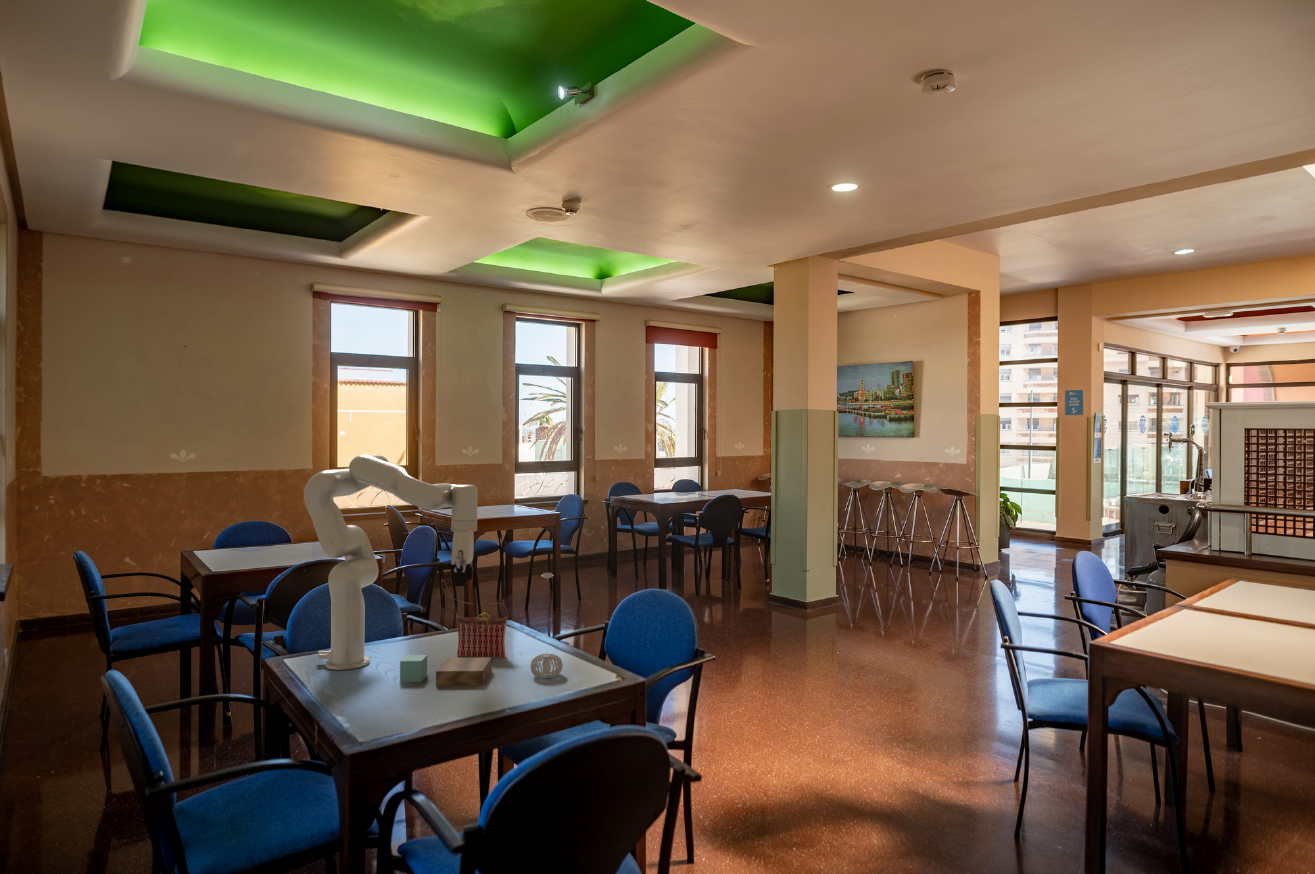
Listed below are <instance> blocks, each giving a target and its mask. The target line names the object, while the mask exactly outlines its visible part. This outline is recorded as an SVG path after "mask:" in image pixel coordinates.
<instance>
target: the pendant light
mask: <svg viewBox="0 0 1315 874" xmlns="http://www.w3.org/2000/svg"><path fill="white" fill-rule="evenodd" d="M540 576H541V578H543V579H546V580H548V579H551V578H553V577H554V574H553V573H551V572H544V573H542V574H541V575H540ZM541 662H542V663H541ZM563 665H564V664H563V660H562V659H561V657H560V656H559V655H557V654H554V653H542V654H538V655H536V656H534V658H533V659H531V662H530V672H531V673H532V675H533V676H534V677H536V678H537V679H543V680H545V679H548V680H549V679H554V678H556V677H557V676H559V675H560V673H561V672H562V670H563ZM551 669H552V670H551ZM547 675H548V676H547Z"/></svg>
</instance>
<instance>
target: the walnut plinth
mask: <svg viewBox="0 0 1315 874" xmlns="http://www.w3.org/2000/svg"><path fill="white" fill-rule="evenodd" d="M491 672H492V658H491V657H447V658H446V659H445V660H444V661H443V662H442V664H440V666H439V668H437V670H435V686H437V687H438V686H483V685H484V684H485V682H486V680H487V679H488V677H489V676H490V674H491Z"/></svg>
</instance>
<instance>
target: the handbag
mask: <svg viewBox="0 0 1315 874" xmlns="http://www.w3.org/2000/svg"><path fill="white" fill-rule="evenodd" d="M440 583H441V584H440V585H441V590H442V594H441V596H440V597H442V595H443V594H444V593H445V594H446V595H447V596H448V597H449V599H450V602H451V604H452V607H453V610H454V614H455V615H456V616H455V617H456V625H457V638H458V643H457V645H458V646H457V652H456V655H457V658H487V657H491V659H492V658H494V659H504V658H506V654H507V653H506V646H505V644H506V643H505V640H506V629H507V628H506V627H507V623H508V610H507V607H506V605H505V604H503V603H501V602H498V604H500V605H503V606H504V608H505V610H506V616H505V617H504V618H491V616H490V615H489V614H488V613H487V612H482V613H481V614H479V615H477V617H460V616H459V615H458V613H457V612H456V609H455V607H454V603H453V600H455V601H458V602H460V603H464V604H467V602H465V601H463V600H462V601H461V600H458V599H455V598H454V597H452V596H451V594H450V591H449V588H448V585H447V584H446V582H445V580H444V579H441V581H440ZM443 583H444V585H445V587H446V590H447V592H448V593H447V592H446V591H445V589H444V588H443ZM452 599H453V600H452ZM468 604H469V605H470V604H471V605H473V603H471V602H468ZM494 604H495V605H496V604H497V602H493V603H492V602H490V605H494ZM485 614H486V615H487V616H488V617H486V615H485ZM481 616H482V617H481Z"/></svg>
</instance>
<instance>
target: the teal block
mask: <svg viewBox="0 0 1315 874" xmlns="http://www.w3.org/2000/svg"><path fill="white" fill-rule="evenodd" d="M427 676H428V654H406V655H405V656H404V657H403V658H402V659H401V660H400V662H399V683H414V682H415V683H422V682H423V681H424V679H426V677H427Z"/></svg>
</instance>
